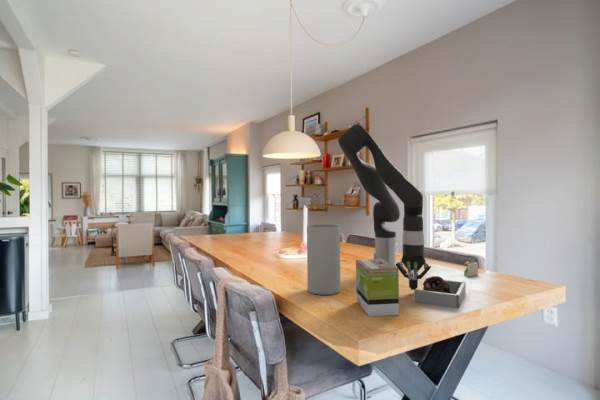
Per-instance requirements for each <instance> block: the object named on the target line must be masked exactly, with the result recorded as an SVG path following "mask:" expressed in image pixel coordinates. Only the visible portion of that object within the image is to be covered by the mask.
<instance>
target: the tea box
mask: <svg viewBox="0 0 600 400" xmlns="http://www.w3.org/2000/svg"><path fill="white" fill-rule="evenodd" d="M399 275H400V274H399V269H398V268H397V266H396V267H395V266H394V265H392V264H390V263H389V262H387V261H385V260H384V259H374V258H373V259H372V258H371V259H356V260H355V280H356V302H357V303H358V304H359V306H360V307H361V309H363V311H364V312H365V314H366V315H367V316H368V317H382V316H383V317H384V316H399V315H400V302H399V301H400V295H399V294H400V293H399V292H400V291H399V290H400V289H399V280H400V278H399Z"/></svg>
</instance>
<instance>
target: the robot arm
mask: <svg viewBox="0 0 600 400" xmlns="http://www.w3.org/2000/svg"><path fill="white" fill-rule="evenodd" d="M337 142H338V145H339V148H340V149H341V151H342V152H343V154H344V155H345V157H346V158H347V159H348V162H349V163H350V164H351V166H352V168H353V170H354V172H355V174H356V176H357V178H358V180H359V182H360V185H361V186H362V188H363V190H364V191H365V192H366V193H367V194H369V195H370V196H371V197H373V198H374V199H376V200H377V201H378V202H375V204H374V205H373V209H372V212H373V213H372V215H373V230H374V246H375V247H374V250H375V251H374V253H373V259H384V260H385V261H387V262H389V263H390V264H392V265H394V266H395V267H397V268H398V271H400V273H401V275H402V276H403V278H407V279H408V287H409V288H410V290H412V291H414V290H415V289H418V286H419V285H418V284H419V283H418V282H419V280H421V279H422V278H424V276H425V275H426V274H427V273H428V271H430V269H431V268H432V265H431V264H428V263H427V261H426V258H425V237H424V235H425V234H424V218H423V206H424V205H423V204H424V196H423V193H422V192H421V191H420V190H419V189H418V188H417V187H416V186H415V185H413V184H412V183H411V182H410V181H409V180H408V179H407V178H406V176H405V175H404V174H403V173H402V171H400V170H399V169H398V168H397V167H396V166H395V165H394V163H392V162H391V160H390V159H389V158H388V156H386V155H385V152H383V150H382V149H381V147H380V146H379V145H378V143H377V142H376V141H375V140H374V138H373V136H372V135H371V134H370V132H368V130H367V129H366V128H365V127H363V126H362V125H361V124H358V123H356V124H353V125H352V126H351V127H350V128H348V129H347V130H346V131H344V132H343V133H342V134H341V135H339V137H338V139H337ZM365 147H366V148H367V149H368V150H369V151H370V153H371V156H372V159H373V163H374V164H372V163H369V162H367V161H364V160H363V159H361V158H360V157H359V156H358V153H359V152H360V151H362V149H364V148H365ZM389 189H390V190H391V191H392V192H393V193H394V194H395V195H396V196H397V198H398V199H399V200H400V201H401V202H402V204H403V218H402V219H403V220H402V227H403V228H402V230H403V231H402V258H401V259H400V261H399V262H398V261H397V260H396V259H397V258H396V257H397V256H396V255H397V253H396V252H397V248H396V247H397V246H396V245H397V243H396V238H397V236H396V234H397V233H396V230H394V229H392V228H390V227H388V226H387V225H386V223H395V222H398V221H399V219H400V216H401V212H400V208H399V205H398V204H397V202H396V200H395V199H394V197H393V195H392V194H391V192H390V190H389ZM404 266H405V268H406V269H407V270H406V269H405V268H404ZM422 267H423V269H424V270H423V271H422V272H421V273H420V274H419V272H420V270H421V269H422Z"/></svg>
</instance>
